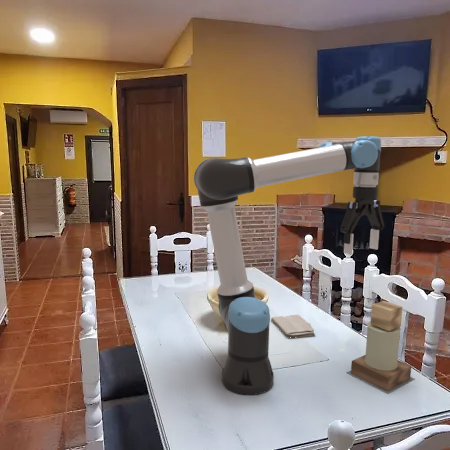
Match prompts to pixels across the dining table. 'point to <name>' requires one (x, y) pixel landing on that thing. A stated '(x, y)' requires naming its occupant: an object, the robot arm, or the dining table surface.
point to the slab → (381, 374)
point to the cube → (386, 315)
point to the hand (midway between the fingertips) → (361, 251)
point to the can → (382, 348)
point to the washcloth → (293, 326)
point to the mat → (380, 388)
